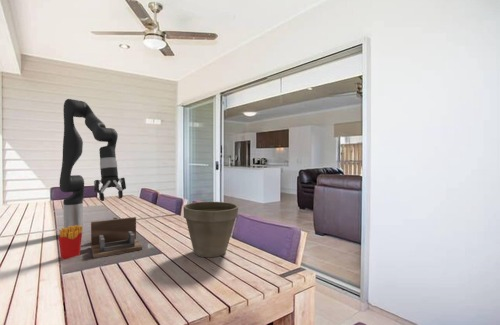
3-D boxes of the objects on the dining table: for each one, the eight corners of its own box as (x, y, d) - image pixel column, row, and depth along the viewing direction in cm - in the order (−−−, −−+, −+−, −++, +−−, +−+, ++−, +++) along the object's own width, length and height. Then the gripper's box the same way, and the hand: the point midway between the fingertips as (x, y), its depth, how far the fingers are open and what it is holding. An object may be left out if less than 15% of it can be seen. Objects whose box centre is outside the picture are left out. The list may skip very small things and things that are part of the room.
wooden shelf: (91, 247, 131) (90, 221, 131) (135, 240, 142) (135, 216, 142) (93, 258, 117) (93, 229, 117) (142, 249, 128) (142, 223, 128)
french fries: (62, 260, 115) (62, 229, 114) (57, 258, 117) (56, 228, 116) (84, 253, 123) (84, 225, 122) (79, 251, 125) (79, 223, 124)
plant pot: (245, 246, 133) (245, 202, 132) (224, 265, 109) (224, 212, 109) (200, 241, 141) (200, 199, 140) (172, 258, 118) (172, 208, 117)
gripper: (119, 167, 143) (122, 197, 143) (90, 168, 132) (93, 202, 132) (126, 165, 138) (129, 197, 138) (96, 167, 127) (99, 201, 127)
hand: (111, 199), depth 135 cm, fingers open, 8 cm apart
